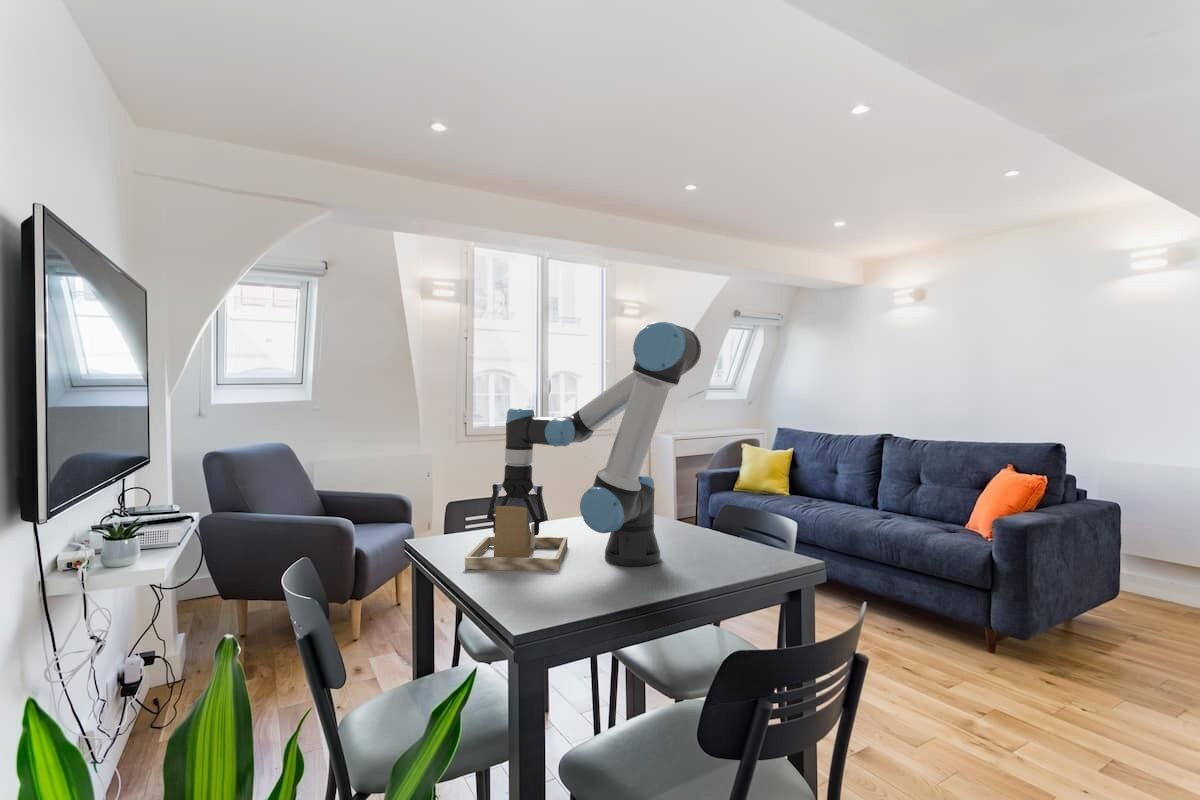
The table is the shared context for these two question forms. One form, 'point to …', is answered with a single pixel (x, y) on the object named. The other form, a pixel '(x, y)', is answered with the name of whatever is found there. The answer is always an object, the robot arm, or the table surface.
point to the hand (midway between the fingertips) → (515, 545)
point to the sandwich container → (512, 532)
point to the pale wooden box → (517, 563)
